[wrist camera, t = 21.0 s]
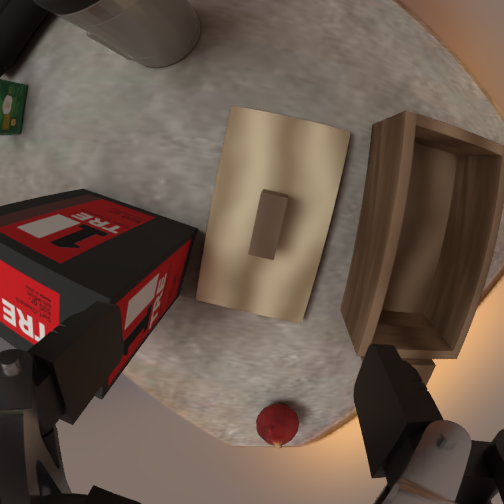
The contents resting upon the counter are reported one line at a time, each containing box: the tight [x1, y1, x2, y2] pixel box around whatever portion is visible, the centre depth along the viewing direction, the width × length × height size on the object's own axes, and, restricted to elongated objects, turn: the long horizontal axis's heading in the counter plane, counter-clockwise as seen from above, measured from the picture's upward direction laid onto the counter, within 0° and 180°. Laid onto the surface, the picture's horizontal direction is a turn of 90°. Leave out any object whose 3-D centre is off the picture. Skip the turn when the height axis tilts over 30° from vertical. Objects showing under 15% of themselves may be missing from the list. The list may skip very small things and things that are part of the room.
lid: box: [196, 106, 351, 323], centre depth 32 cm, size 13×22×6 cm, turn 168°
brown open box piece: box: [341, 111, 504, 386], centre depth 28 cm, size 12×27×11 cm, turn 173°
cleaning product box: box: [0, 189, 198, 399], centre depth 27 cm, size 16×9×20 cm, turn 71°
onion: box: [256, 404, 299, 448], centre depth 38 cm, size 6×6×8 cm
